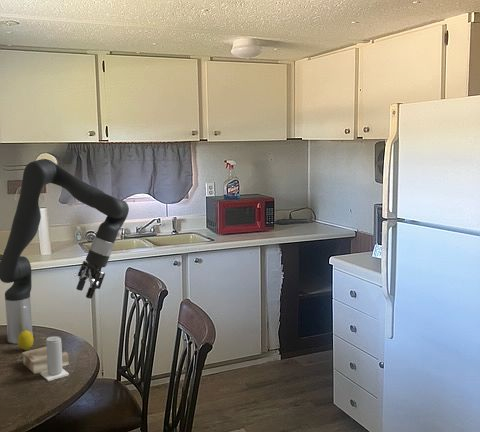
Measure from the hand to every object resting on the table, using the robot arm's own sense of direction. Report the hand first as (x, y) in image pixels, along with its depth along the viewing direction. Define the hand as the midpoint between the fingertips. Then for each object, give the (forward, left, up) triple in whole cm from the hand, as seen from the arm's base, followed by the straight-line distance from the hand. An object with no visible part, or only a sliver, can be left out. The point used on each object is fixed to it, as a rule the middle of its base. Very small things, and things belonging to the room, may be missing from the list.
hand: (83, 293), depth 194 cm
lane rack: (-4, -13, -24) cm, 28 cm away
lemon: (-22, -14, -24) cm, 35 cm away
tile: (+7, -14, -24) cm, 29 cm away
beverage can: (+7, -14, -23) cm, 28 cm away
